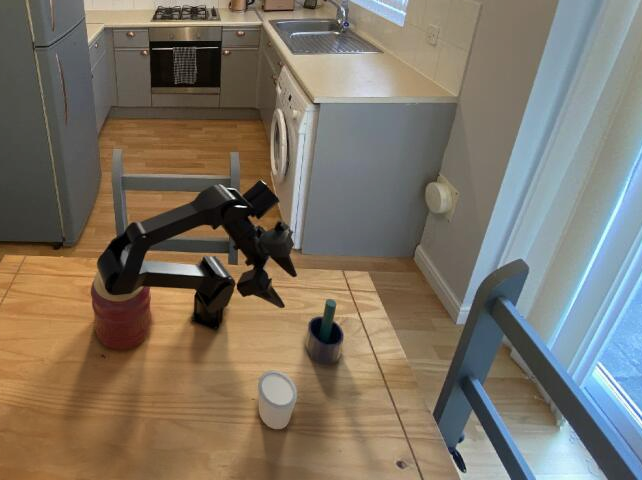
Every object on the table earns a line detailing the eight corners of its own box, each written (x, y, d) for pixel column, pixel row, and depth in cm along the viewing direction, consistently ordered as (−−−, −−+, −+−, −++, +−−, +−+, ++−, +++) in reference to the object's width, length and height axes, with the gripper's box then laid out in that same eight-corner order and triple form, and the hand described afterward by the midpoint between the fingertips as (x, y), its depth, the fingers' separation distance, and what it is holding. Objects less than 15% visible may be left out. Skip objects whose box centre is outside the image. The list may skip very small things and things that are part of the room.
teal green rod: (317, 349, 89) (325, 304, 84) (318, 341, 91) (326, 297, 86) (327, 352, 88) (336, 308, 83) (327, 344, 90) (336, 300, 85)
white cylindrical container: (294, 437, 75) (299, 412, 72) (255, 428, 76) (258, 404, 73) (291, 397, 81) (295, 373, 78) (255, 390, 82) (257, 366, 80)
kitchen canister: (142, 295, 104) (140, 239, 97) (159, 341, 92) (157, 281, 85) (90, 310, 100) (83, 252, 93) (100, 359, 89) (94, 298, 82)
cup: (303, 356, 88) (306, 338, 86) (307, 329, 94) (310, 312, 92) (338, 369, 86) (342, 351, 84) (340, 341, 91) (344, 323, 89)
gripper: (255, 248, 78) (309, 317, 77) (284, 195, 92) (330, 252, 91) (215, 264, 85) (264, 328, 84) (248, 212, 99) (290, 266, 98)
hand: (289, 291), depth 89 cm, fingers open, 9 cm apart
